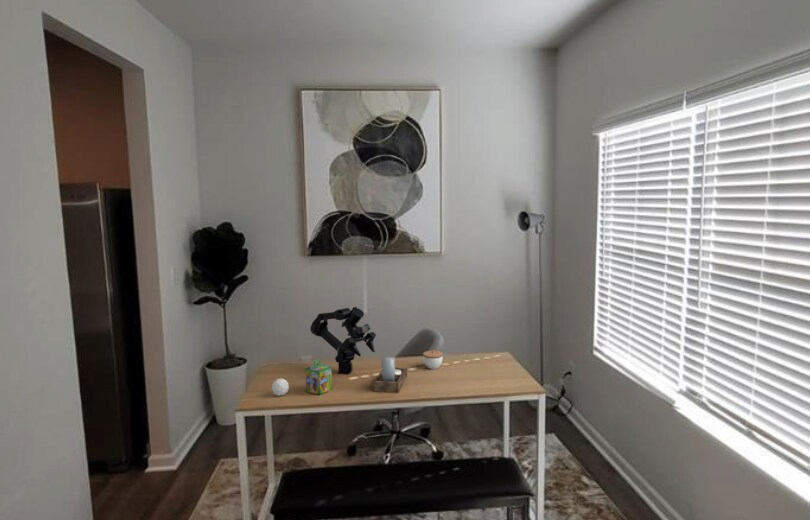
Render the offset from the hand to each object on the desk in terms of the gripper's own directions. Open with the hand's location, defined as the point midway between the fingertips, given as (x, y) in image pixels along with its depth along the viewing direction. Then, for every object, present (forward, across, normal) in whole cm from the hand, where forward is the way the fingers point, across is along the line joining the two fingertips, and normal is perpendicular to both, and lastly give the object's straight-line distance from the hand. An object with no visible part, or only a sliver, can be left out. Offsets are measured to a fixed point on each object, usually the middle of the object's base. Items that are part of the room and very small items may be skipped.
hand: (367, 353), depth 239 cm
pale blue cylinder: (+20, 0, -2) cm, 20 cm away
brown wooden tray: (+18, +4, +1) cm, 19 cm away
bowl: (+15, +9, +2) cm, 18 cm away
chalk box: (+5, -25, +15) cm, 29 cm away
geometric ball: (-1, -40, +21) cm, 45 cm away
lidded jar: (+18, +37, +2) cm, 41 cm away
